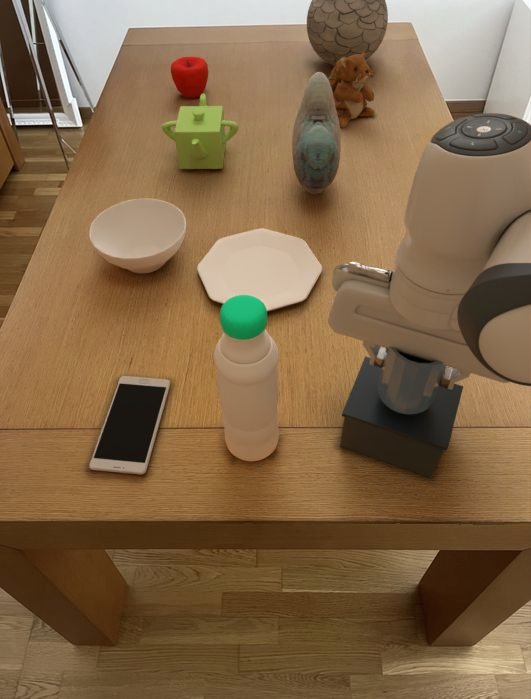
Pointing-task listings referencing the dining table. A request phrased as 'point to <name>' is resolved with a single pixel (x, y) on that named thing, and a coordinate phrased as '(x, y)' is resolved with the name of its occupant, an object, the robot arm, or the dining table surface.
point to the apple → (190, 76)
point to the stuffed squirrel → (351, 88)
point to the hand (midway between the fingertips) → (411, 372)
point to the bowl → (138, 234)
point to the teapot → (200, 135)
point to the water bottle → (247, 379)
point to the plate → (260, 268)
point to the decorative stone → (316, 136)
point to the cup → (408, 381)
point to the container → (397, 425)
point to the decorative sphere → (346, 27)
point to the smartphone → (130, 425)
